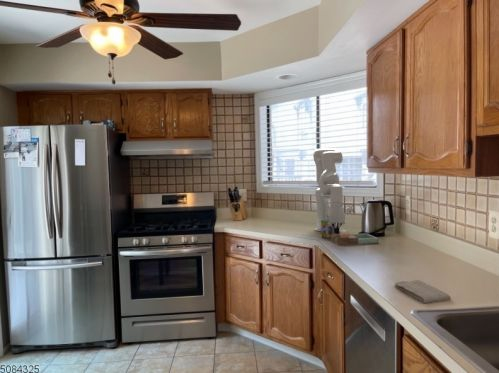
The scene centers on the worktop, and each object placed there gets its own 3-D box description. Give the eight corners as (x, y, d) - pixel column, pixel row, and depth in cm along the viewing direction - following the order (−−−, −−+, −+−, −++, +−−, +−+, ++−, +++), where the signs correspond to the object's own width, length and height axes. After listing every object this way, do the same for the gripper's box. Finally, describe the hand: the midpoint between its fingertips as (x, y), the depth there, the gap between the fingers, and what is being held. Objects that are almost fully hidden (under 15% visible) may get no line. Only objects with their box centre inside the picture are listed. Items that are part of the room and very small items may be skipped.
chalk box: (335, 238, 228) (335, 216, 227) (321, 237, 231) (321, 215, 230) (336, 235, 236) (336, 214, 235) (323, 235, 239) (322, 213, 238)
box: (347, 239, 225) (347, 234, 225) (366, 237, 227) (366, 233, 226) (358, 244, 210) (358, 239, 210) (378, 243, 212) (378, 238, 212)
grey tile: (337, 234, 221) (337, 230, 221) (344, 233, 222) (344, 230, 222) (340, 235, 217) (340, 231, 217) (347, 235, 218) (347, 231, 217)
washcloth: (417, 284, 142) (417, 277, 141) (452, 301, 124) (452, 293, 124) (392, 288, 139) (392, 280, 139) (424, 305, 121) (424, 297, 121)
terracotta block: (339, 236, 215) (339, 232, 215) (346, 236, 216) (346, 232, 215) (342, 237, 210) (342, 233, 210) (349, 237, 211) (349, 233, 211)
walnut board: (330, 240, 223) (330, 233, 223) (347, 239, 225) (347, 232, 225) (339, 245, 208) (339, 238, 208) (358, 244, 210) (358, 237, 210)
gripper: (345, 203, 222) (345, 231, 224) (323, 204, 220) (323, 233, 222) (350, 205, 215) (350, 234, 216) (327, 206, 213) (327, 235, 214)
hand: (336, 233), depth 219 cm, fingers closed
